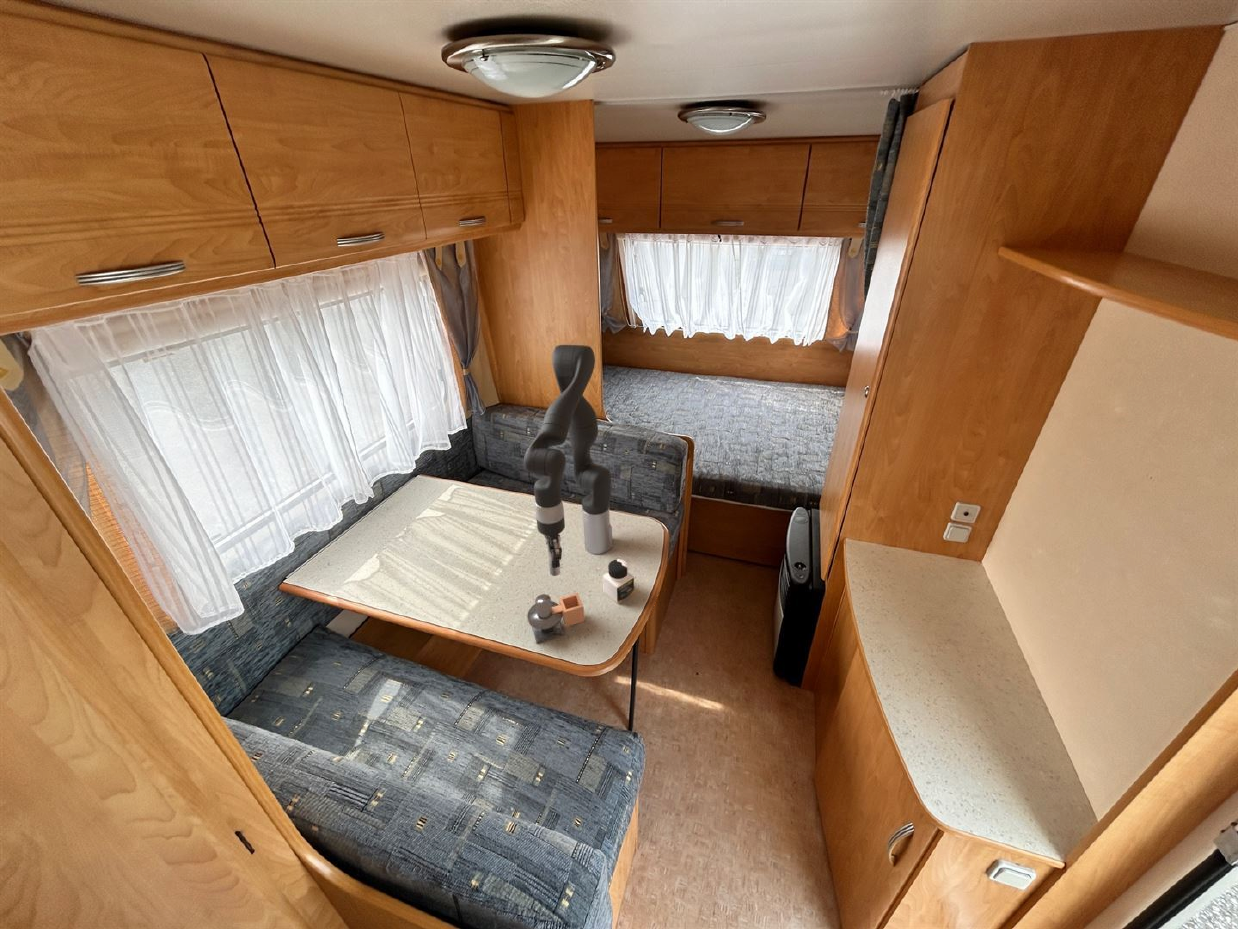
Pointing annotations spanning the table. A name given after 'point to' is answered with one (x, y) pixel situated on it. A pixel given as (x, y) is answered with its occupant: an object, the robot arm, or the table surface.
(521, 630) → the table surface
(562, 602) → the bracket
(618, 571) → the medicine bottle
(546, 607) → the grey ball joystick
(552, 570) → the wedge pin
